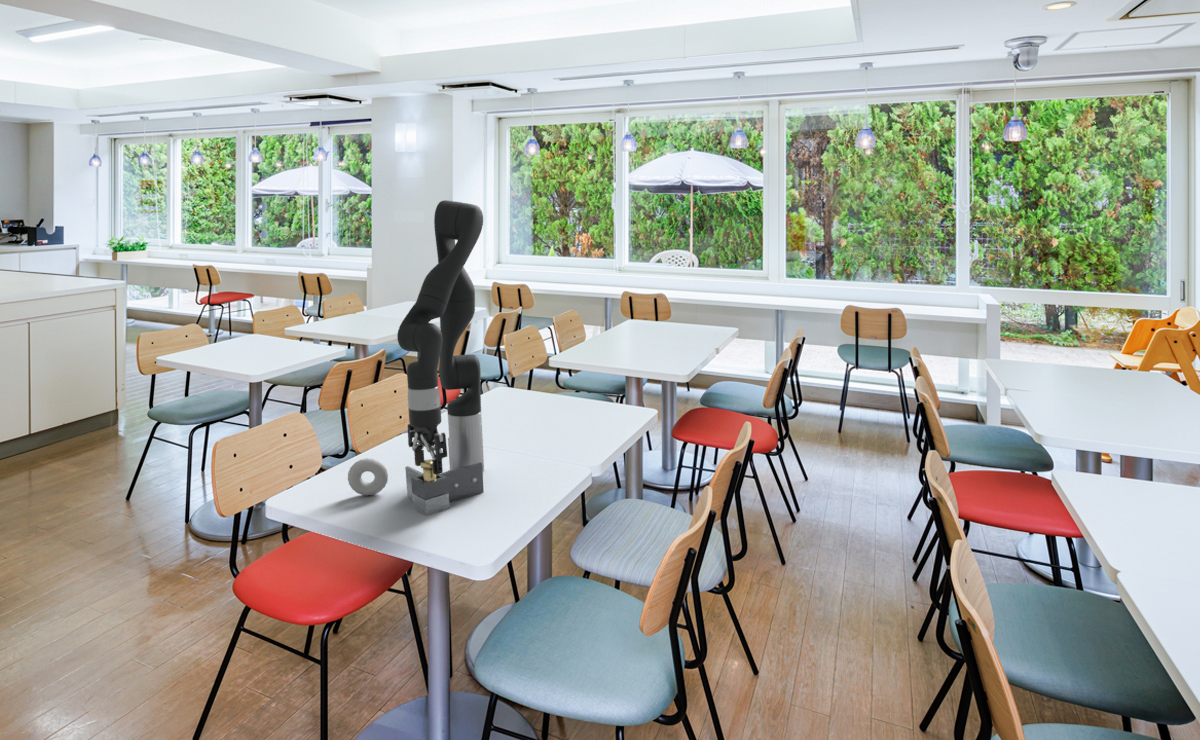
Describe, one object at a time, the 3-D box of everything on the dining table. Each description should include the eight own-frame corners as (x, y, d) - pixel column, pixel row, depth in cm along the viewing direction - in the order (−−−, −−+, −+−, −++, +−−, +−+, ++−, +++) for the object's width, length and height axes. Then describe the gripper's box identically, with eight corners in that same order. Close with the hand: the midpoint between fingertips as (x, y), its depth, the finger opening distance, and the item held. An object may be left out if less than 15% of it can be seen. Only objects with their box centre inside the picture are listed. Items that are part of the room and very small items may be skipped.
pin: (420, 508, 177) (417, 462, 175) (435, 503, 180) (431, 458, 177) (429, 513, 174) (425, 466, 172) (443, 508, 177) (440, 462, 174)
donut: (348, 499, 184) (344, 462, 182) (350, 494, 187) (347, 457, 185) (388, 496, 185) (385, 459, 183) (390, 491, 189) (387, 455, 187)
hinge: (397, 499, 183) (395, 469, 181) (459, 480, 195) (457, 452, 194) (426, 515, 173) (424, 484, 171) (489, 494, 185) (488, 465, 183)
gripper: (454, 407, 169) (457, 472, 173) (423, 397, 179) (427, 458, 183) (425, 413, 164) (430, 480, 168) (395, 402, 174) (400, 466, 178)
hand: (428, 469), depth 175 cm, fingers open, 8 cm apart
